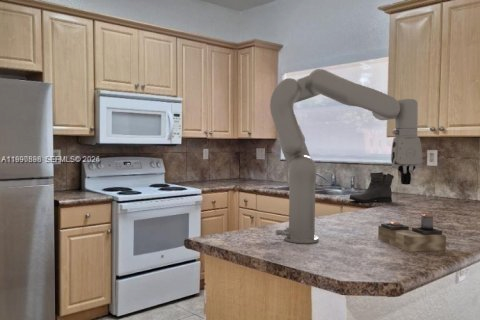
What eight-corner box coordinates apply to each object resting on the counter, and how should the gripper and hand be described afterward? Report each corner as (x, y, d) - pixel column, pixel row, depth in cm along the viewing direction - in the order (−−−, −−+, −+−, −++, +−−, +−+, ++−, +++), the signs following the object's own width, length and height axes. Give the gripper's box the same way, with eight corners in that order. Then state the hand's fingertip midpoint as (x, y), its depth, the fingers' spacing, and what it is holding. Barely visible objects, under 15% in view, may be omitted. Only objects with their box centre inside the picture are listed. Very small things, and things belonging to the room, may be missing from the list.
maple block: (408, 251, 144) (409, 233, 143) (378, 238, 163) (378, 222, 163) (445, 250, 146) (446, 232, 146) (411, 237, 166) (411, 221, 166)
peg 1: (392, 242, 156) (392, 224, 156) (386, 239, 160) (387, 222, 160) (402, 241, 157) (402, 223, 157) (396, 239, 161) (396, 221, 161)
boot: (345, 201, 277) (346, 171, 276) (386, 200, 283) (387, 171, 282) (353, 203, 267) (353, 172, 266) (395, 202, 273) (396, 172, 272)
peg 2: (425, 234, 149) (425, 215, 148) (418, 232, 153) (418, 214, 152) (435, 234, 149) (435, 215, 149) (428, 232, 153) (428, 213, 153)
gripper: (393, 133, 150) (393, 185, 150) (431, 133, 153) (430, 184, 154) (381, 134, 157) (381, 183, 158) (418, 134, 160) (417, 182, 161)
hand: (405, 184), depth 156 cm, fingers closed
